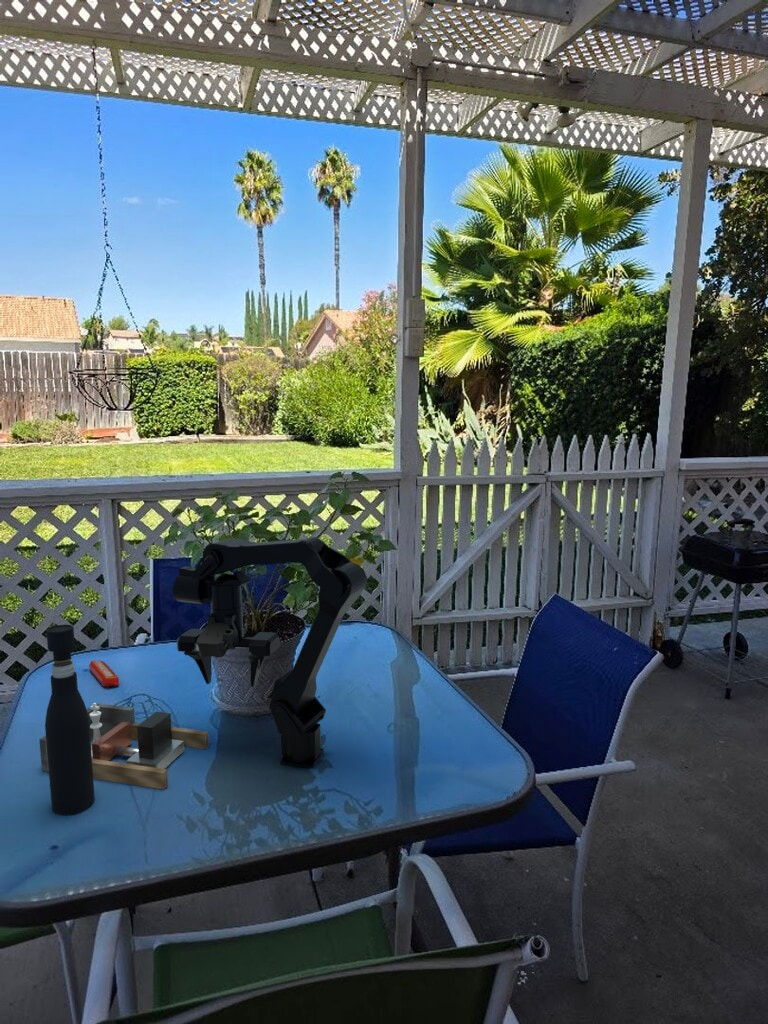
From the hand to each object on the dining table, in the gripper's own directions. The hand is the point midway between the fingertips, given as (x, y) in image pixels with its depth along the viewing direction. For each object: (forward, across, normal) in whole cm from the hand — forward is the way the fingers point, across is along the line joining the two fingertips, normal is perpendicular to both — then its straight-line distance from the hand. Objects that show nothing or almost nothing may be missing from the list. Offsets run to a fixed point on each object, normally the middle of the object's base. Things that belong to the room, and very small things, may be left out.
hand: (230, 684), depth 130 cm
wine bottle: (+12, -17, -25) cm, 32 cm away
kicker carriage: (+11, -14, -10) cm, 21 cm away
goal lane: (+11, -17, -10) cm, 23 cm away
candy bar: (+11, -44, +24) cm, 51 cm away
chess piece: (+12, -23, -9) cm, 28 cm away
